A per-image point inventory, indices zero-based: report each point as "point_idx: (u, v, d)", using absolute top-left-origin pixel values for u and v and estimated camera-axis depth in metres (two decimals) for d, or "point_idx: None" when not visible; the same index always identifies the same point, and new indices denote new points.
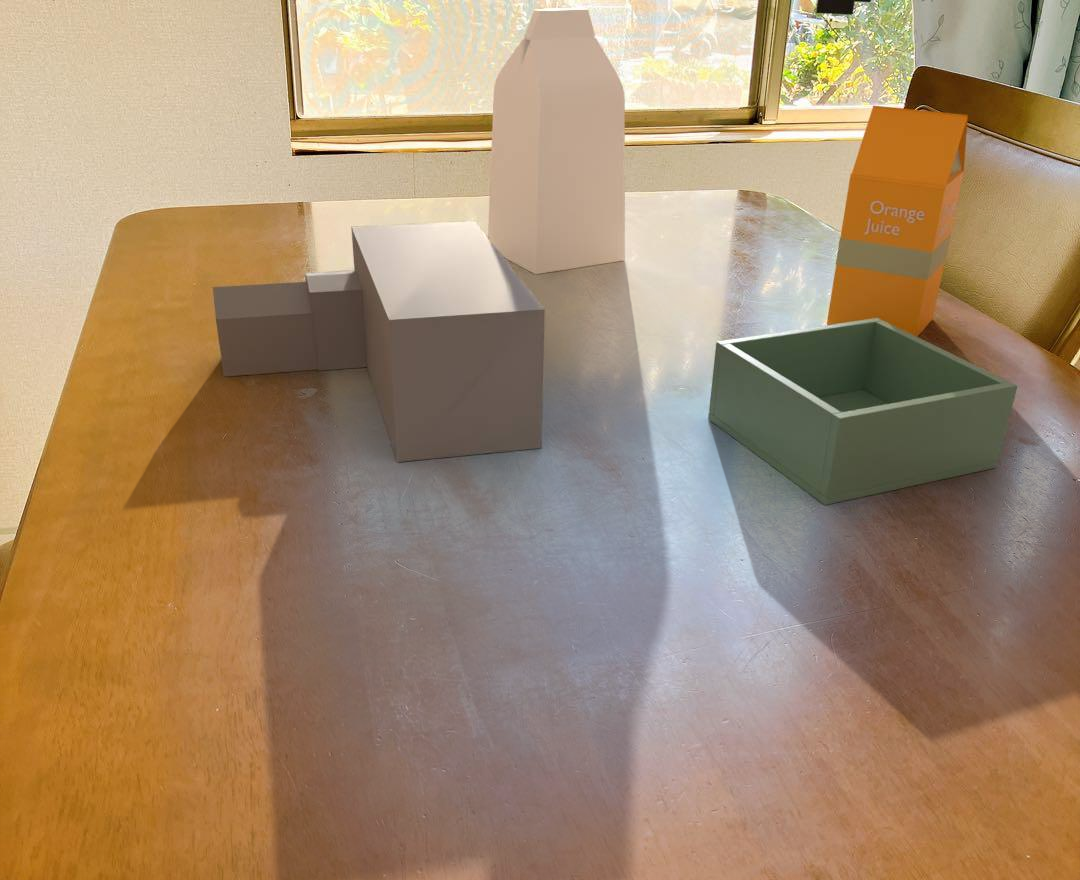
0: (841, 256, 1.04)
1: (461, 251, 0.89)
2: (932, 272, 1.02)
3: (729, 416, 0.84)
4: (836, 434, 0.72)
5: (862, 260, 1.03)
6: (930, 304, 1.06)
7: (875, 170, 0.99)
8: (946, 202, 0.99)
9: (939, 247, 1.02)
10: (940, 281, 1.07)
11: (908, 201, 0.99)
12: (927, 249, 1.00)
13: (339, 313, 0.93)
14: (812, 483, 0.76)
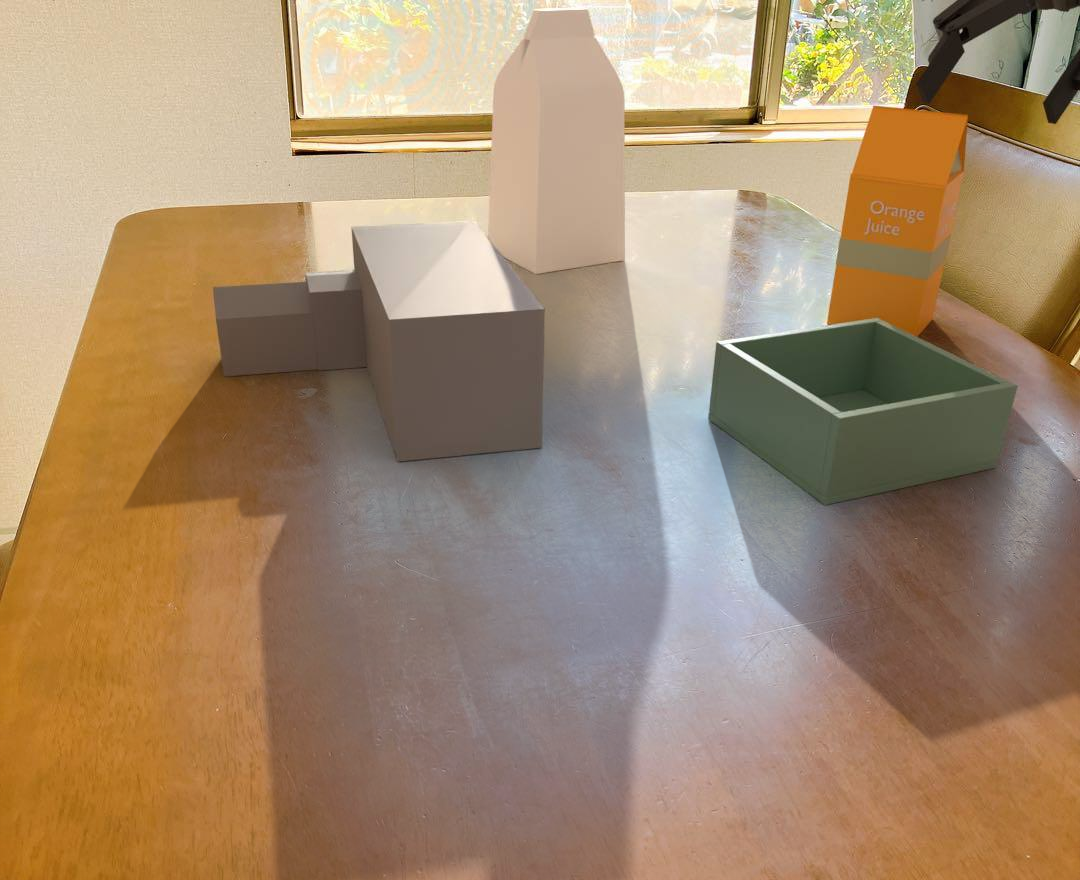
0: (841, 256, 1.04)
1: (461, 251, 0.89)
2: (932, 272, 1.02)
3: (729, 416, 0.84)
4: (836, 434, 0.72)
5: (863, 260, 1.03)
6: (930, 304, 1.06)
7: (875, 170, 0.99)
8: (946, 202, 0.99)
9: (939, 247, 1.02)
10: (940, 281, 1.07)
11: (908, 201, 0.99)
12: (927, 249, 1.00)
13: (339, 313, 0.93)
14: (812, 483, 0.76)
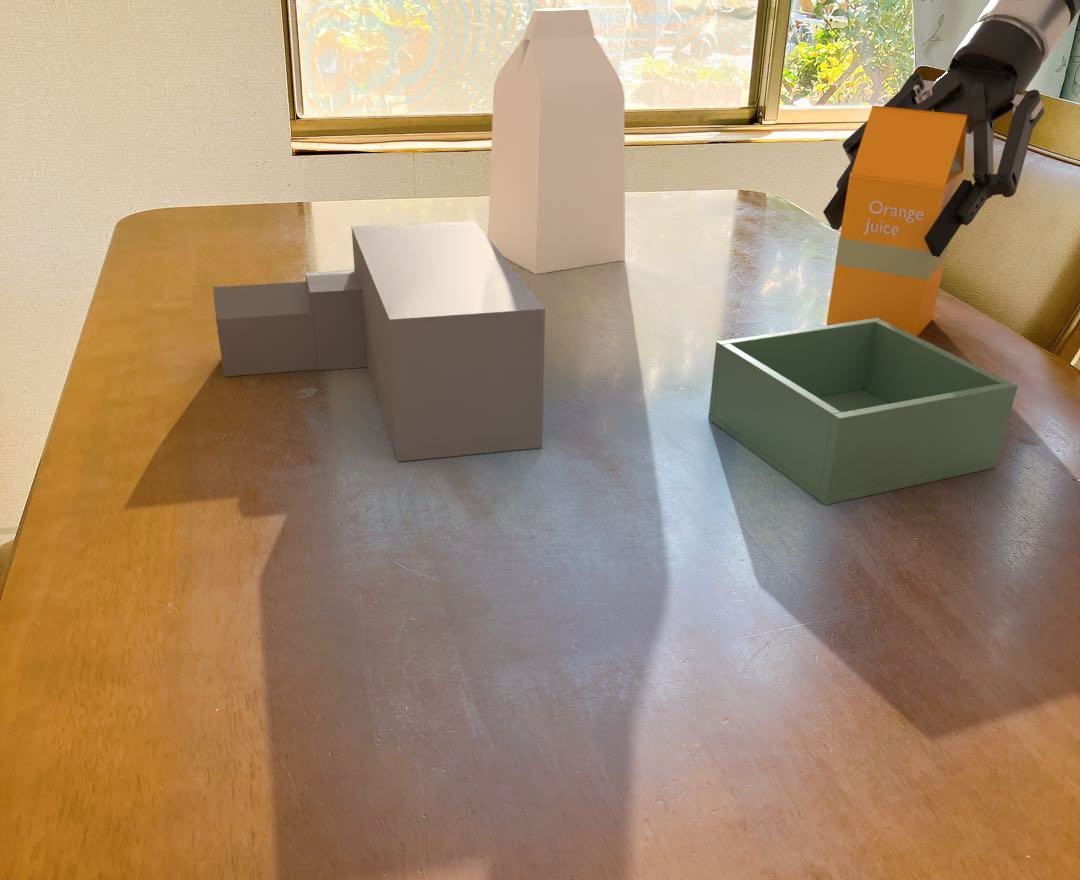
0: (840, 256, 1.04)
1: (461, 251, 0.89)
2: (931, 272, 1.02)
3: (729, 416, 0.84)
4: (836, 434, 0.72)
5: (862, 260, 1.03)
6: (930, 304, 1.06)
7: (874, 170, 0.99)
8: (945, 202, 0.99)
9: None
10: (940, 280, 1.07)
11: (907, 201, 0.99)
12: (926, 249, 1.00)
13: (339, 313, 0.93)
14: (812, 483, 0.76)
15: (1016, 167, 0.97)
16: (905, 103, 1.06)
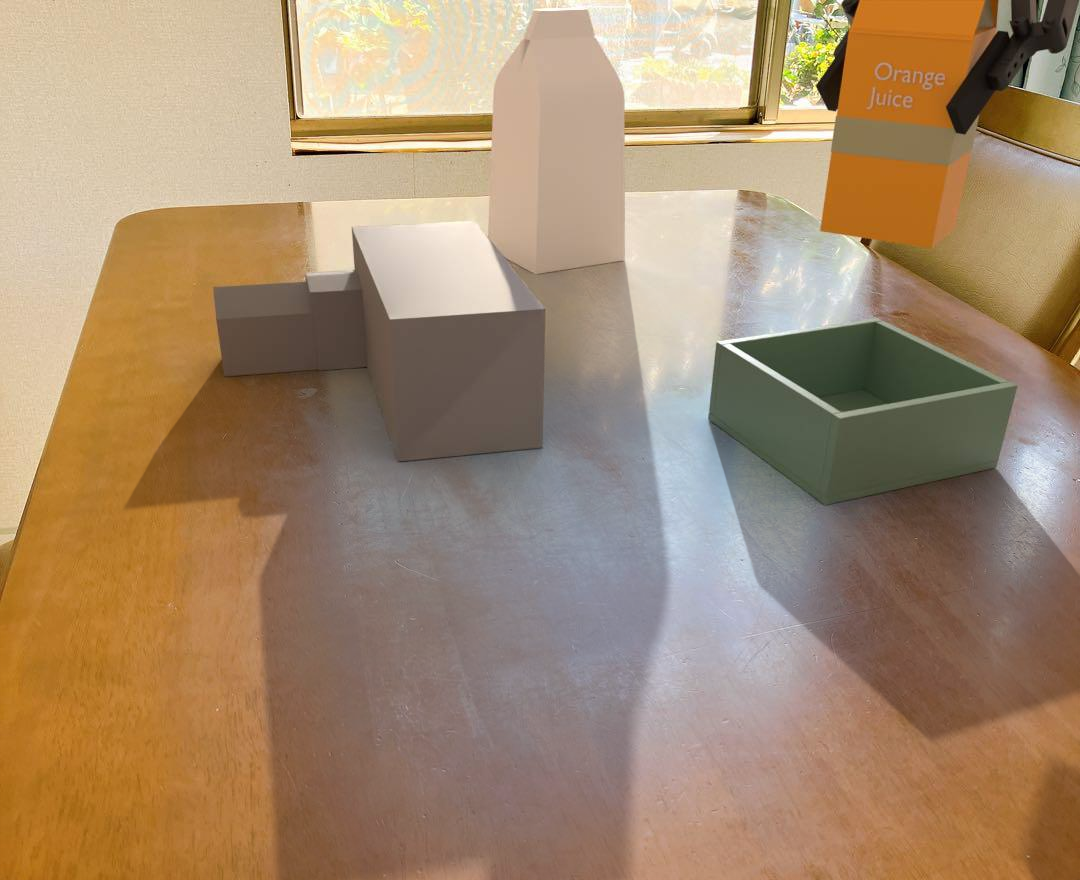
0: (838, 140, 0.81)
1: (462, 251, 0.89)
2: (955, 158, 0.79)
3: (729, 416, 0.84)
4: (836, 434, 0.72)
5: (865, 144, 0.80)
6: (952, 204, 0.83)
7: (881, 22, 0.77)
8: (974, 62, 0.76)
9: None
10: (965, 177, 0.84)
11: (924, 61, 0.76)
12: (949, 125, 0.77)
13: (340, 313, 0.93)
14: (812, 483, 0.76)
15: (1067, 12, 0.74)
16: None
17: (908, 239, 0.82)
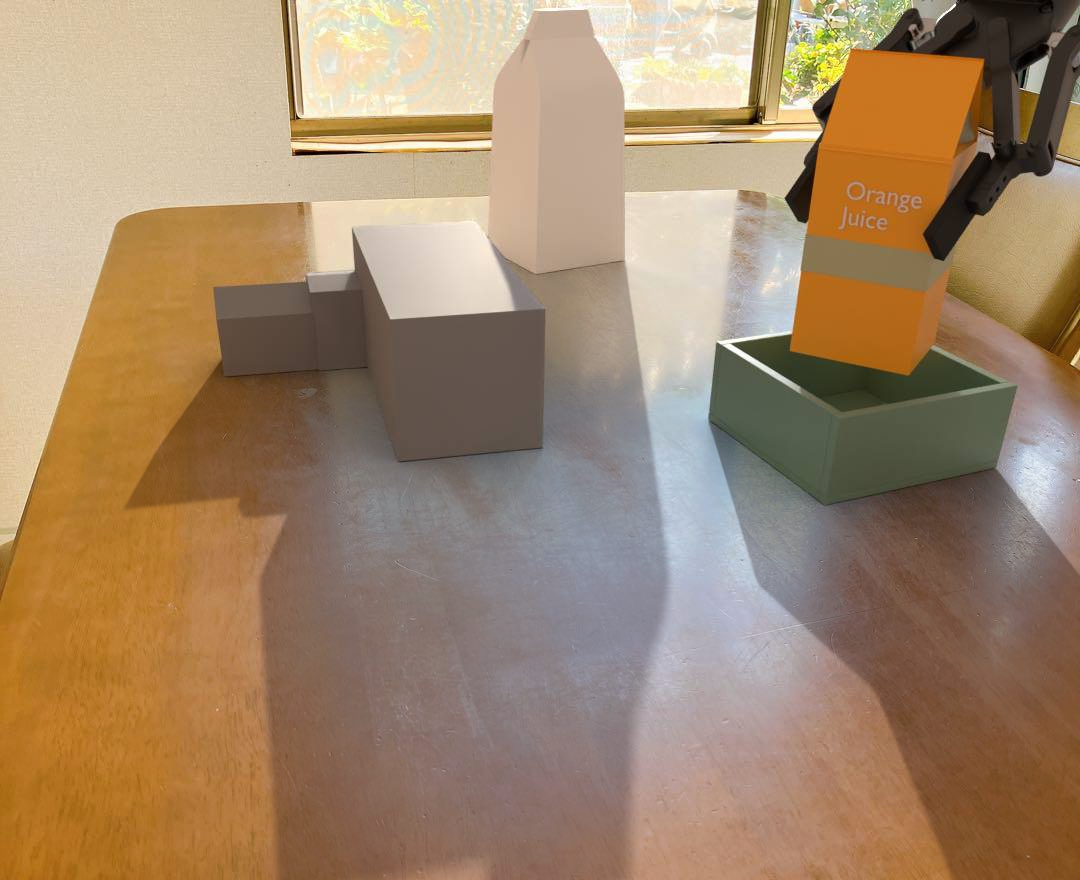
0: (808, 259, 0.75)
1: (462, 251, 0.89)
2: (933, 282, 0.73)
3: (729, 416, 0.84)
4: (836, 434, 0.72)
5: (837, 265, 0.74)
6: (931, 325, 0.77)
7: (853, 139, 0.71)
8: (953, 183, 0.70)
9: None
10: (944, 293, 0.79)
11: (900, 182, 0.70)
12: (926, 250, 0.71)
13: (340, 313, 0.93)
14: (812, 483, 0.76)
15: (1054, 133, 0.68)
16: (897, 49, 0.77)
17: (883, 365, 0.76)
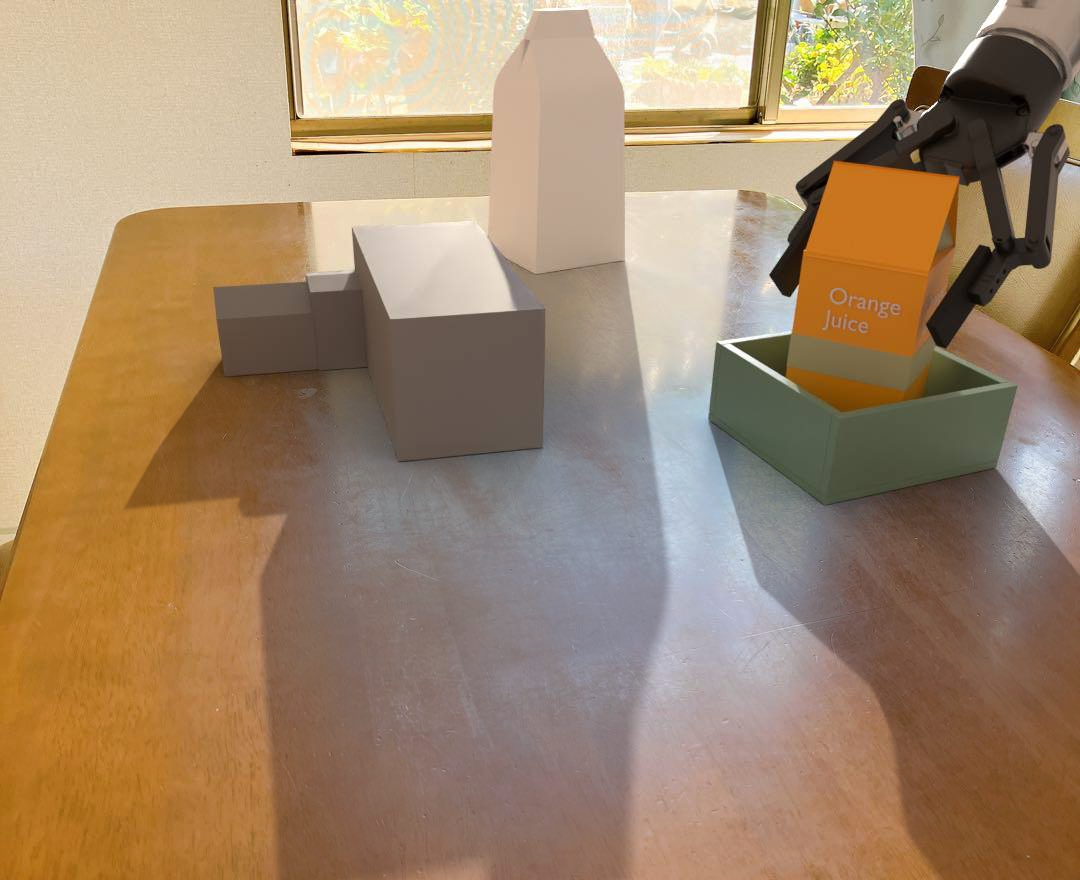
0: (793, 356, 0.79)
1: (462, 251, 0.89)
2: (912, 380, 0.77)
3: (729, 416, 0.84)
4: (836, 434, 0.72)
5: (821, 363, 0.78)
6: None
7: (836, 247, 0.74)
8: (930, 291, 0.74)
9: (922, 348, 0.77)
10: (925, 385, 0.82)
11: (879, 290, 0.74)
12: (905, 353, 0.75)
13: (340, 313, 0.93)
14: (812, 483, 0.76)
15: (1048, 228, 0.71)
16: (881, 138, 0.81)
17: None
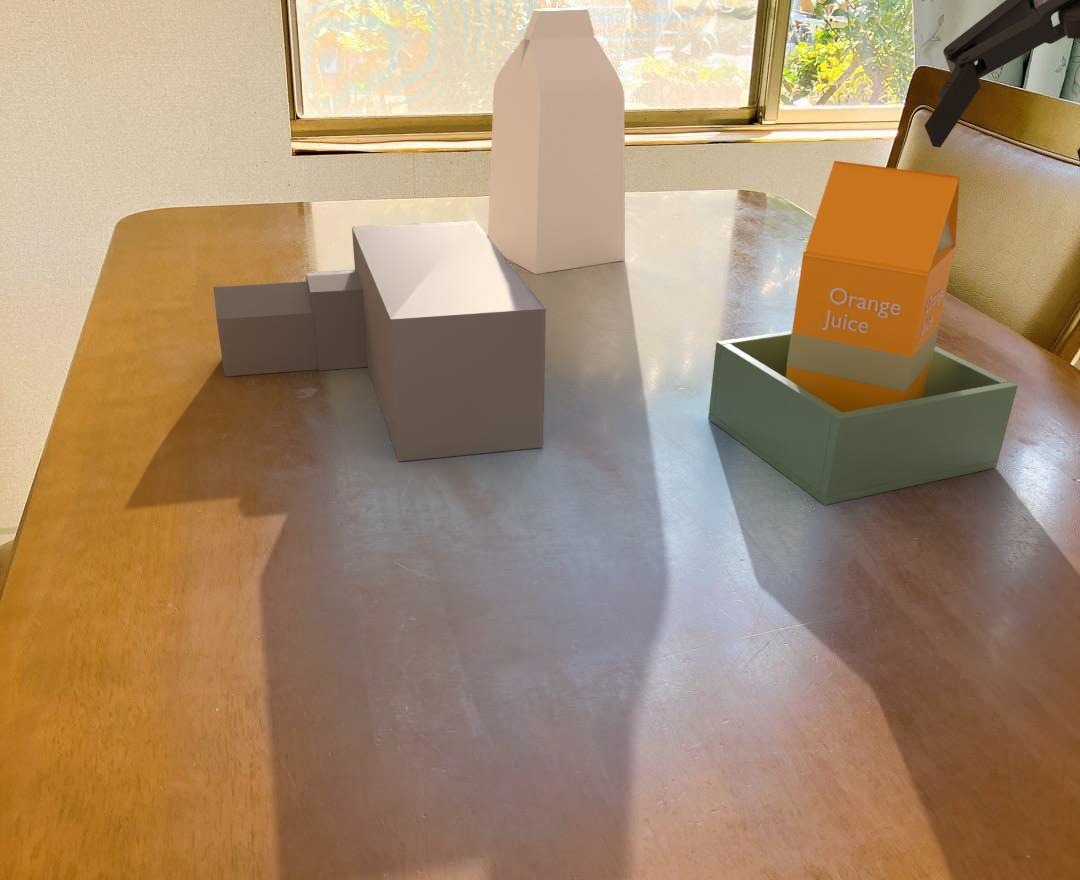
0: (793, 356, 0.79)
1: (462, 251, 0.89)
2: (913, 380, 0.77)
3: (729, 416, 0.84)
4: (836, 434, 0.72)
5: (821, 363, 0.78)
6: None
7: (836, 247, 0.74)
8: (930, 291, 0.74)
9: (922, 348, 0.77)
10: (925, 385, 0.82)
11: (879, 290, 0.74)
12: (905, 353, 0.75)
13: (340, 313, 0.93)
14: (812, 483, 0.76)
15: None
16: (1021, 6, 0.93)
17: None
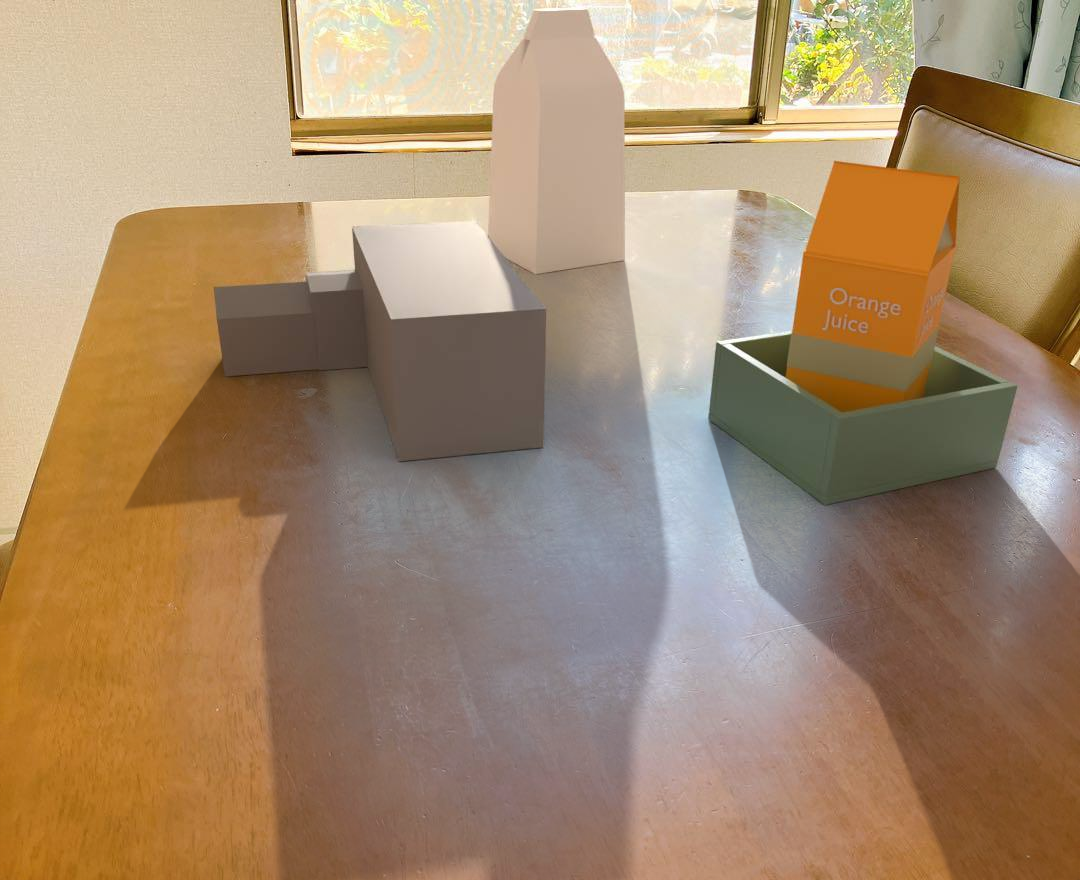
0: (793, 356, 0.79)
1: (462, 251, 0.89)
2: (913, 380, 0.77)
3: (729, 416, 0.84)
4: (836, 434, 0.72)
5: (821, 363, 0.78)
6: None
7: (836, 247, 0.74)
8: (930, 291, 0.74)
9: (922, 348, 0.77)
10: (925, 385, 0.82)
11: (879, 290, 0.74)
12: (905, 353, 0.75)
13: (340, 313, 0.93)
14: (812, 483, 0.76)
15: None
16: None
17: None
